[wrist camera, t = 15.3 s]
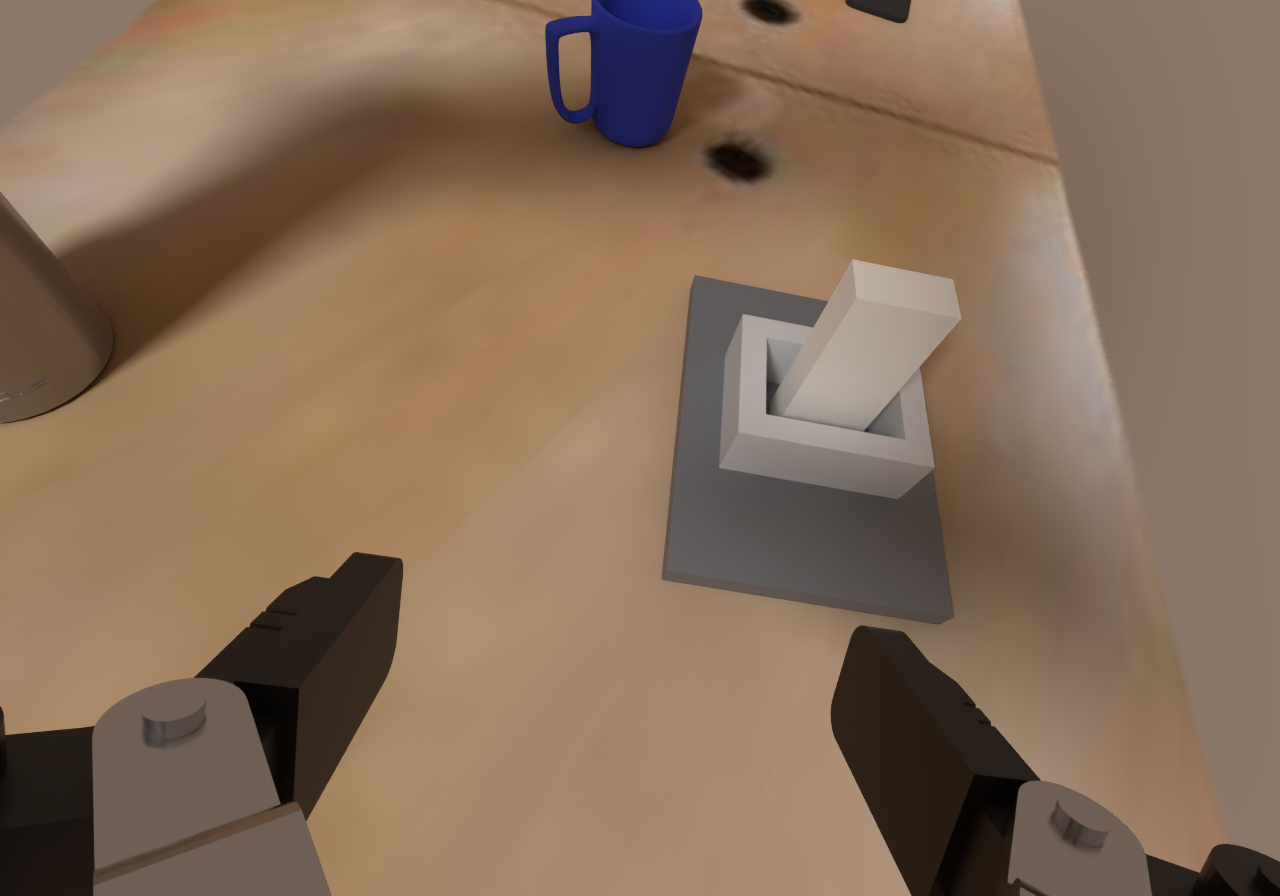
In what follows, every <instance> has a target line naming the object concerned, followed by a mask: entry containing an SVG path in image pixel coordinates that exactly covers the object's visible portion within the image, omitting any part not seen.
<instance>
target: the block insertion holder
mask: <svg viewBox="0 0 1280 896" xmlns="http://www.w3.org/2000/svg"><path fill="white" fill-rule="evenodd" d="M827 303H828V301H823V300H818V299H813V298H808V297H803V296H798V295H793V294H788V293H782V292H777V291H772V290H767V289H762V288H757V287H752V286H747V285H742V284H737V283H732V282H727V281H722V280H717V279H712V278H706V277H701V276H696V275H695V276H694V280H693V283H692V286H691V289H690V298H689V308H688V318H687V328H686V338H685V348H684V358H683V369H682V379H681V389H680V399H679V409H678V419H677V429H676V439H675V449H674V459H673V470H672V480H671V490H670V500H669V510H668V520H667V530H666V540H665V550H664V561H663V571H662V580H667V581H673V582H679V583H685V584H692V585H698V586H704V587H710V588H716V589H723V590H729V591H735V592H741V593H747V594H753V595H760V596H766V597H772V598H778V599H784V600H791V601H797V602H803V603H809V604H815V605H821V606H828V607H834V608H840V609H846V610H852V611H859V612H865V613H871V614H877V615H883V616H890V617H896V618H902V619H908V620H914V621H920V622H927V623H933V624H941V623H943V622H945V621H947V620H949V619H951V618H954V614H953V607H952V600H951V593H950V586H949V579H948V573H947V566H946V559H945V552H944V545H943V538H942V532H941V525H940V518H939V511H938V504H937V497H936V490H935V484H934V477H933V469H934V468H935V466H934V459H933V452H932V446H931V439H930V432H929V425H928V419H927V412H926V405H925V398H924V392H923V385H922V378H921V371H920V367H919V368H918V369H917V370H916V372H915V373H914V374H913V375H912V376H911V377H910V379H909V380H908V381H907V382H906V383H905V384H904V385H903V387H902V388H901V389H900V390H899V391H898V392H897V394H896V395H895V396H894V397H893V398H892V399H891V400H890V402H889V403H888V404H887V405H886V406H885V407H884V409H883V410H882V411H881V412H880V413H879V414H878V415H877V417H876V418H875V419H874V420H873V421H872V422H871V424H870V425H869V426H868V427H867V428H866V429H865V430H864V432H861V431H856V430H850V429H845V428H839V427H834V426H828V425H823V424H817V423H812V422H806V421H801V420H795V419H790V418H784V417H779V416H773V415H770V401H771V400H772V398H773V396H774V395H775V393H776V391H777V389H778V388H779V386H780V384H781V382H782V381H783V379H784V377H785V376H786V374H787V372H788V370H789V369H790V367H791V365H792V363H793V362H794V360H795V358H796V357H797V355H798V353H799V351H800V350H801V348H802V346H803V345H804V343H805V341H806V339H807V338H808V336H809V334H810V332H811V331H812V329H813V327H814V326H815V324H816V322H817V320H818V319H819V317H820V315H821V313H822V312H823V310H824V308H825V307H826V305H827Z"/></svg>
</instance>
